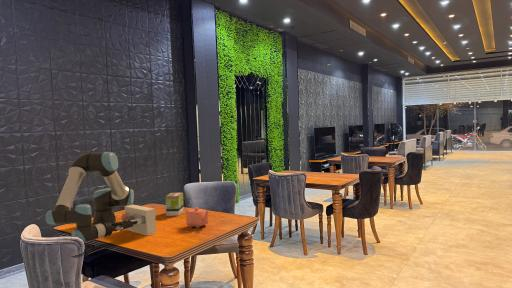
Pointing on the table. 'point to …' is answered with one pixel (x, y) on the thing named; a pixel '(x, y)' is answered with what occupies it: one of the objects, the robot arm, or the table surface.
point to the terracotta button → (124, 217)
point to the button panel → (150, 221)
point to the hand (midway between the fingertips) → (140, 220)
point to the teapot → (196, 217)
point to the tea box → (174, 204)
